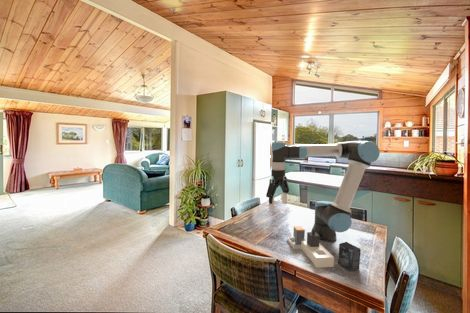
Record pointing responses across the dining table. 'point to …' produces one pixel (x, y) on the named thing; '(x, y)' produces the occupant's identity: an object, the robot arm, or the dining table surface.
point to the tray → (292, 242)
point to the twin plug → (313, 238)
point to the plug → (299, 234)
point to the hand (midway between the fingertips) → (278, 206)
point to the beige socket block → (318, 255)
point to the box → (349, 256)
